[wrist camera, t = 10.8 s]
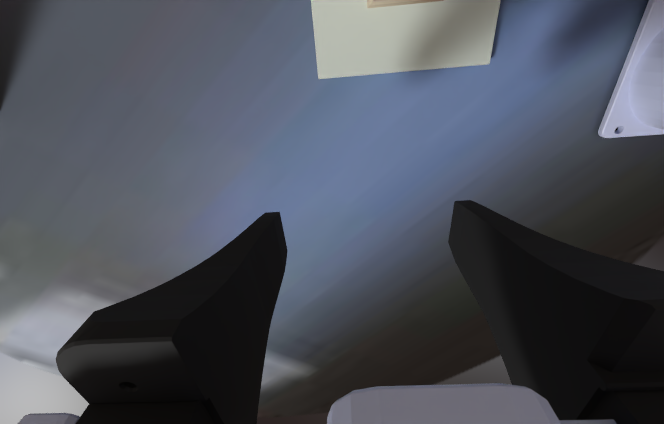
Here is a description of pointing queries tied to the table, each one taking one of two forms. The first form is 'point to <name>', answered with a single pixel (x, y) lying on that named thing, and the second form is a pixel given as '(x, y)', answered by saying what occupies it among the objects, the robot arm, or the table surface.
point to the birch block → (394, 2)
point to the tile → (401, 36)
